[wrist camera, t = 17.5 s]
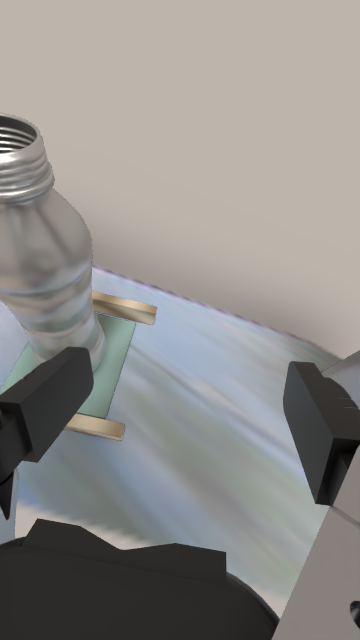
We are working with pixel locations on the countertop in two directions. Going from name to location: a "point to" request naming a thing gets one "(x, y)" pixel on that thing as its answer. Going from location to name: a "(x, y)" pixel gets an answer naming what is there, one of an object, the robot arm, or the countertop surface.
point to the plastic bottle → (43, 250)
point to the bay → (108, 369)
